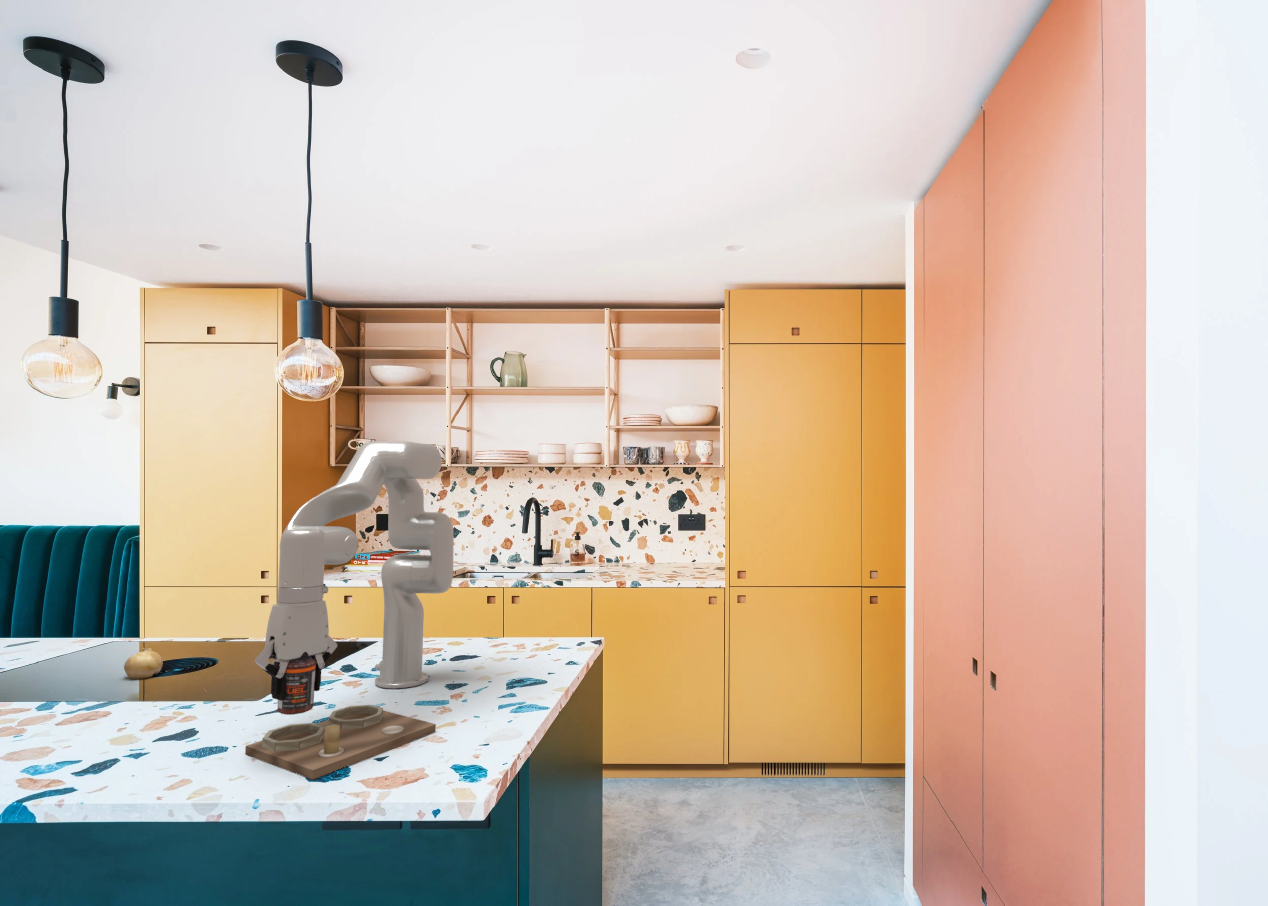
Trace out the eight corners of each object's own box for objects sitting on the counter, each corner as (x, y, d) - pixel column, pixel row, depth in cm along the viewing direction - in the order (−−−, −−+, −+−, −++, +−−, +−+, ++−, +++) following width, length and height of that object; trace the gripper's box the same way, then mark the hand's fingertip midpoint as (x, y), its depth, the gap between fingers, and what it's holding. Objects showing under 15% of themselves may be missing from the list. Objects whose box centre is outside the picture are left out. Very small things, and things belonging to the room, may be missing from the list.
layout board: (245, 754, 117) (246, 720, 117) (369, 714, 139) (370, 685, 140) (312, 779, 107) (314, 742, 107) (435, 731, 129) (436, 700, 129)
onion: (167, 676, 167) (169, 647, 168) (131, 683, 161) (133, 653, 161) (154, 671, 172) (155, 643, 172) (117, 678, 165) (119, 649, 166)
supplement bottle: (276, 717, 116) (279, 652, 117) (277, 708, 121) (280, 646, 122) (314, 713, 119) (316, 649, 119) (313, 703, 124) (315, 643, 125)
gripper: (330, 588, 131) (326, 680, 130) (242, 599, 116) (236, 703, 115) (354, 591, 127) (350, 686, 126) (266, 603, 112) (260, 710, 111)
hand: (296, 693), depth 120 cm, fingers closed on supplement bottle, 5 cm apart
